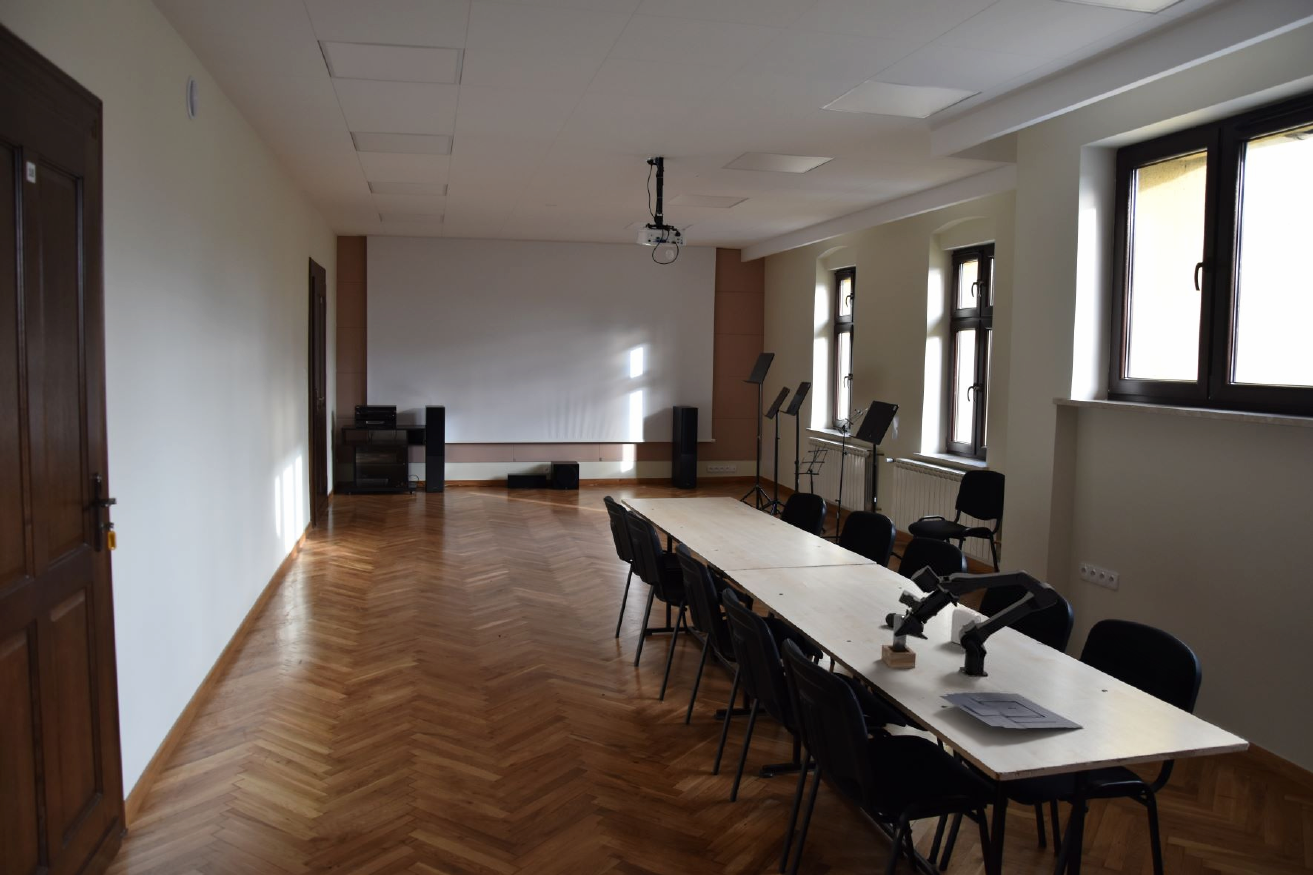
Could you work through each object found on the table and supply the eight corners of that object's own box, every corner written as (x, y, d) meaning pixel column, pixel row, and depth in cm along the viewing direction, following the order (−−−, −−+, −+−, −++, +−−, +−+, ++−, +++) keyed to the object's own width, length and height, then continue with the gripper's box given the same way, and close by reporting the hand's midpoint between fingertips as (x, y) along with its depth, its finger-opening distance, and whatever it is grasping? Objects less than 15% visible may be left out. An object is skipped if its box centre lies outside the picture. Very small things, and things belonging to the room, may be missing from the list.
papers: (932, 702, 242) (934, 689, 241) (1014, 702, 253) (1016, 690, 253) (995, 739, 219) (997, 725, 219) (1083, 737, 230) (1085, 724, 230)
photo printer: (948, 640, 299) (950, 605, 298) (957, 639, 301) (959, 604, 300) (972, 650, 290) (974, 614, 289) (981, 648, 292) (983, 612, 291)
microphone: (929, 646, 302) (889, 625, 318) (934, 632, 302) (894, 611, 317) (919, 644, 299) (880, 622, 315) (925, 630, 299) (885, 608, 314)
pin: (907, 654, 275) (909, 616, 274) (900, 657, 273) (902, 618, 272) (897, 651, 278) (898, 613, 277) (889, 653, 276) (891, 615, 275)
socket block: (915, 667, 272) (915, 653, 272) (890, 667, 272) (891, 653, 271) (905, 658, 280) (906, 644, 280) (881, 658, 279) (882, 645, 279)
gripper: (917, 576, 281) (880, 606, 286) (913, 590, 263) (874, 622, 268) (941, 603, 279) (904, 632, 284) (939, 619, 261) (899, 650, 266)
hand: (895, 633), depth 275 cm, fingers closed on pin, 4 cm apart
